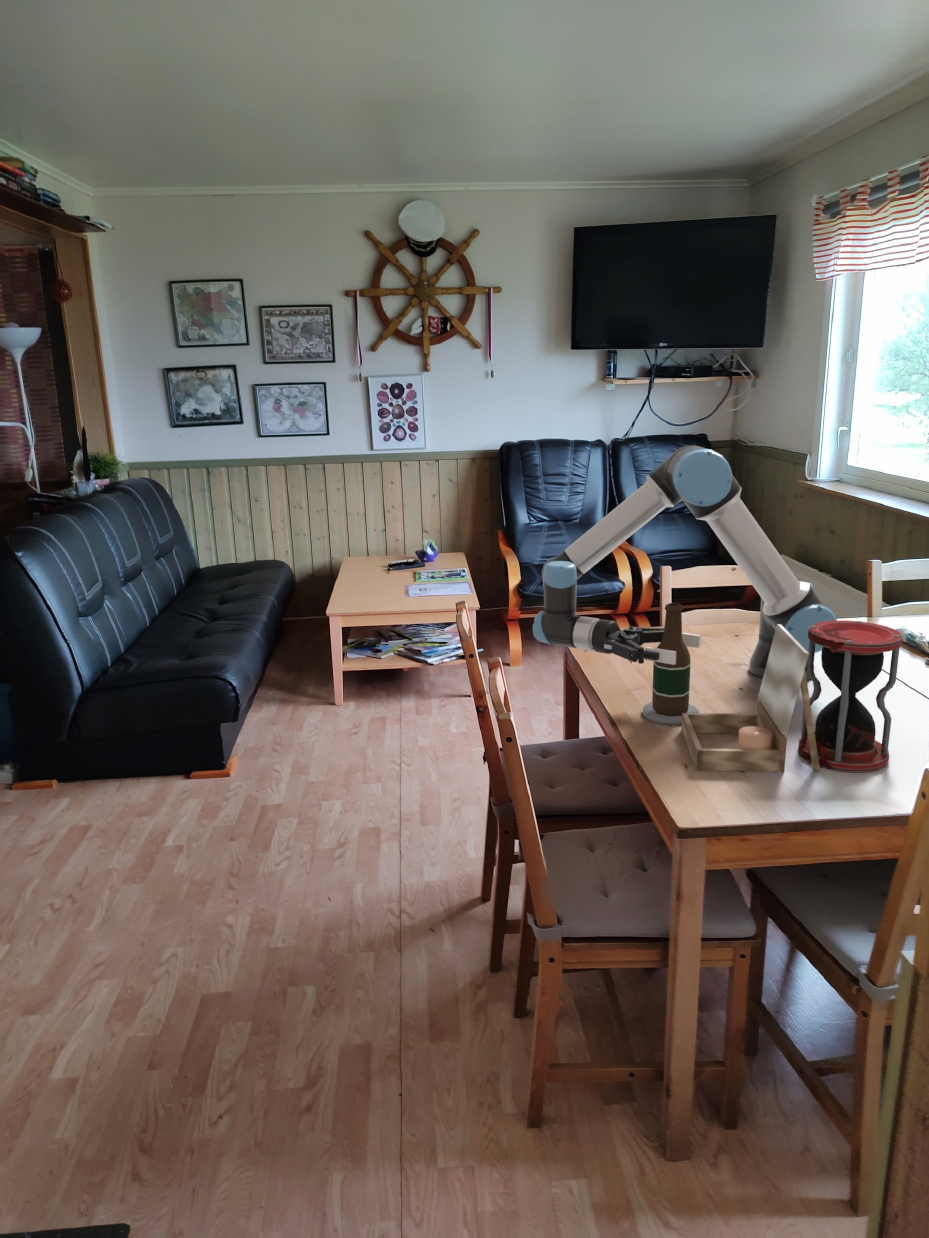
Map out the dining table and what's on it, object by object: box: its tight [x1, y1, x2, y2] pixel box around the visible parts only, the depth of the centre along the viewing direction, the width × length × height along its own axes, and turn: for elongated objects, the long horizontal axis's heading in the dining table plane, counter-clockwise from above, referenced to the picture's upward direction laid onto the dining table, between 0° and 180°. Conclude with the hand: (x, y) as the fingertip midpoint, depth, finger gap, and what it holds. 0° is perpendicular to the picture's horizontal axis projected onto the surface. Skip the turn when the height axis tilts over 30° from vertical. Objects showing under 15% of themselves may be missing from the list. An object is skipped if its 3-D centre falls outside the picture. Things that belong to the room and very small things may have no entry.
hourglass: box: [797, 619, 903, 773], centre depth 162 cm, size 16×16×25 cm
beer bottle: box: [651, 602, 691, 716], centre depth 184 cm, size 8×8×24 cm
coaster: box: [642, 701, 700, 726], centre depth 187 cm, size 12×12×1 cm
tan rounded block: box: [737, 726, 772, 749], centre depth 163 cm, size 6×6×6 cm
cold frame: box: [680, 624, 821, 773], centre depth 165 cm, size 23×19×24 cm
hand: (687, 649), depth 181 cm, fingers open, 13 cm apart
